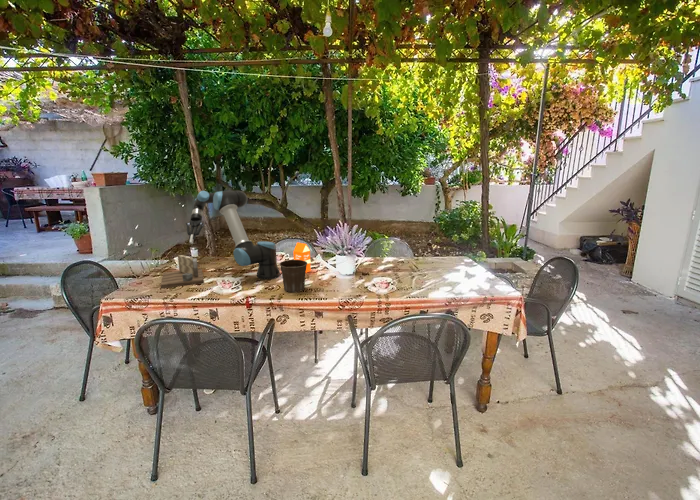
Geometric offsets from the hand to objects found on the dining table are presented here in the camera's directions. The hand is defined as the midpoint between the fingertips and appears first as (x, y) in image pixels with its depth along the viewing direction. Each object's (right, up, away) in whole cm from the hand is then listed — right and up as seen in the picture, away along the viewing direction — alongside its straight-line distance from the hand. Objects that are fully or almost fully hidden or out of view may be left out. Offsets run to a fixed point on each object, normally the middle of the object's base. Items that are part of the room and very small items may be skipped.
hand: (191, 243), depth 261 cm
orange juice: (+80, -20, -6) cm, 83 cm away
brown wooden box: (+5, -24, -23) cm, 33 cm away
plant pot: (+80, -29, -42) cm, 95 cm away
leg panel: (+6, -20, -18) cm, 28 cm away
